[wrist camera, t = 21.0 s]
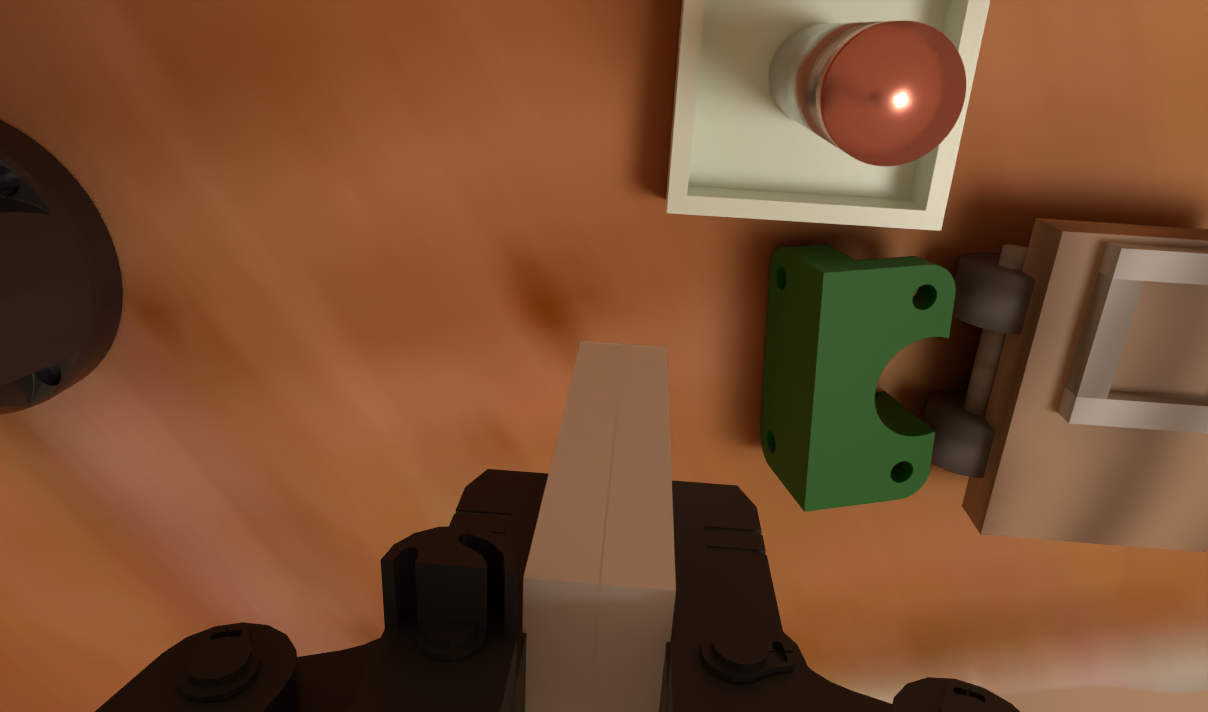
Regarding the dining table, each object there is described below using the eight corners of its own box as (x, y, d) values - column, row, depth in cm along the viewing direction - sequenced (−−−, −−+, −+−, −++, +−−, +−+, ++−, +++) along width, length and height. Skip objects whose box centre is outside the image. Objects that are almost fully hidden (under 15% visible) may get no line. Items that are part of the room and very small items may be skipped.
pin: (763, 121, 35) (814, 163, 24) (773, 22, 34) (833, 18, 22) (856, 125, 35) (951, 168, 24) (870, 25, 33) (979, 22, 22)
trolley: (897, 470, 42) (938, 543, 36) (956, 200, 36) (1015, 233, 30) (1161, 489, 41) (1248, 568, 35) (1259, 219, 36) (1381, 257, 30)
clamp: (840, 381, 45) (913, 517, 38) (738, 391, 44) (795, 533, 37) (909, 198, 36) (1017, 335, 30) (784, 206, 35) (868, 349, 29)
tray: (665, 199, 37) (666, 213, 34) (689, -85, 33) (692, -96, 30) (919, 215, 37) (941, 230, 34) (976, -70, 32) (1007, -80, 30)
